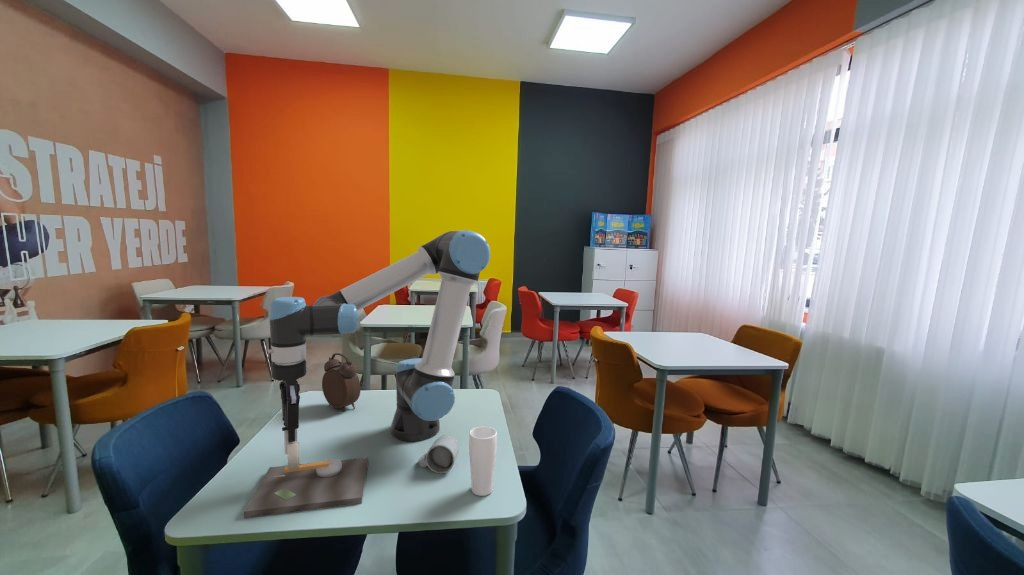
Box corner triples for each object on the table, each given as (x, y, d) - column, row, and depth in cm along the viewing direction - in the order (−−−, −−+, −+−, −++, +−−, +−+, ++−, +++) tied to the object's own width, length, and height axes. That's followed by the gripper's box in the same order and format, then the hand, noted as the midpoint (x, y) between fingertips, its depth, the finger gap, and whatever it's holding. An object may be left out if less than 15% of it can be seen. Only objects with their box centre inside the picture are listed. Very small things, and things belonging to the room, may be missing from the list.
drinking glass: (499, 496, 99) (500, 437, 98) (471, 501, 97) (472, 440, 96) (492, 480, 106) (493, 424, 104) (466, 484, 104) (466, 427, 102)
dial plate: (368, 462, 113) (368, 457, 113) (361, 503, 95) (361, 496, 95) (270, 472, 107) (269, 466, 107) (243, 518, 89) (243, 511, 89)
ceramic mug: (460, 458, 116) (460, 432, 115) (454, 474, 108) (454, 446, 107) (423, 456, 117) (422, 430, 116) (414, 472, 109) (413, 444, 108)
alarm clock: (364, 409, 148) (363, 354, 145) (346, 416, 141) (345, 359, 139) (338, 400, 155) (337, 348, 153) (320, 406, 149) (319, 352, 147)
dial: (342, 462, 109) (342, 432, 108) (341, 475, 104) (340, 443, 103) (287, 470, 105) (286, 439, 104) (282, 483, 100) (281, 450, 99)
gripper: (268, 356, 104) (270, 444, 107) (274, 370, 94) (277, 468, 96) (301, 352, 108) (302, 437, 111) (311, 365, 98) (312, 459, 101)
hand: (291, 451), depth 104 cm, fingers closed
